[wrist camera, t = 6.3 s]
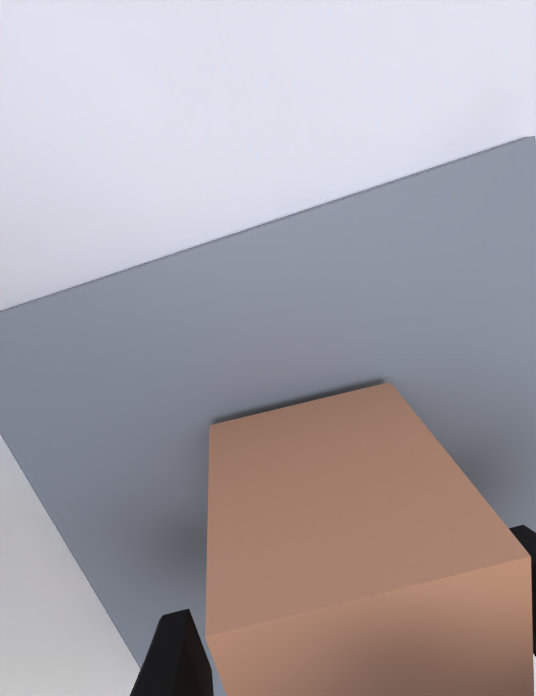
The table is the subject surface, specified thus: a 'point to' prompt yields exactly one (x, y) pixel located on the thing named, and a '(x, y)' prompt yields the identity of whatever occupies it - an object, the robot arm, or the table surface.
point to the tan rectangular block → (358, 559)
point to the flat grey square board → (275, 365)
